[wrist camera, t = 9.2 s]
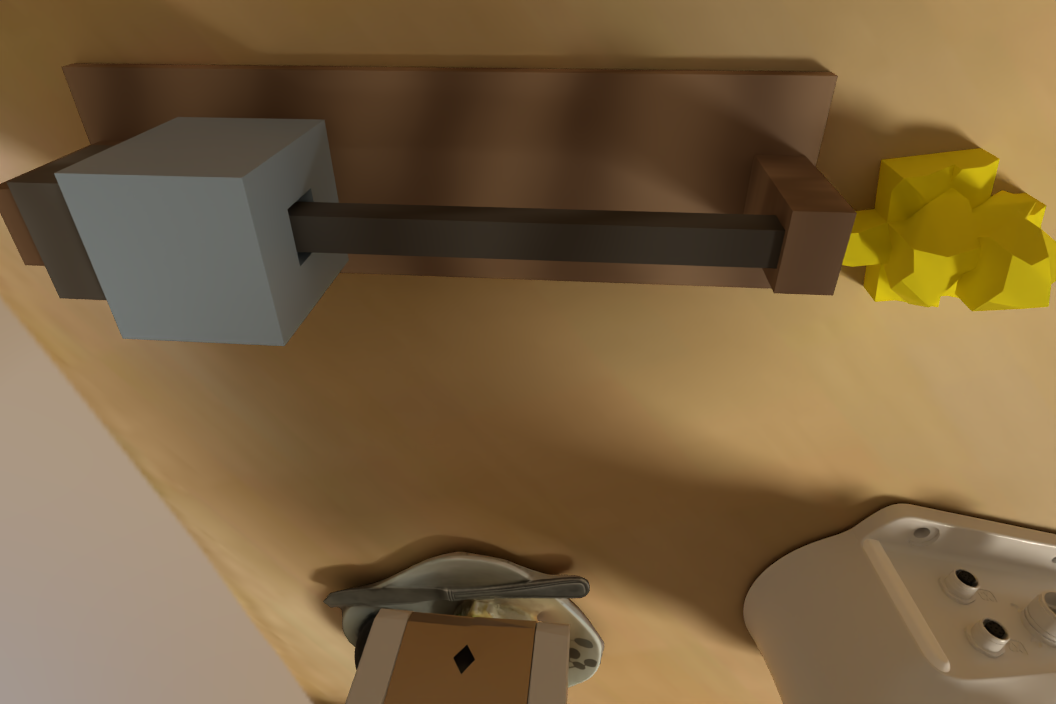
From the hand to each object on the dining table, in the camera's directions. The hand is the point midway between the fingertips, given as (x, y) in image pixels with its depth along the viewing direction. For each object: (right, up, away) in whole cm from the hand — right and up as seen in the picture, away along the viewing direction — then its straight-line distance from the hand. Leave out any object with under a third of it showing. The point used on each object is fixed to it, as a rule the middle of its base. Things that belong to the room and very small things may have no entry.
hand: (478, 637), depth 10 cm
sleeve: (-10, +11, +17) cm, 23 cm away
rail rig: (-3, +12, +18) cm, 22 cm away
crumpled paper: (+18, +10, +18) cm, 27 cm away
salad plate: (-4, -15, +37) cm, 41 cm away
